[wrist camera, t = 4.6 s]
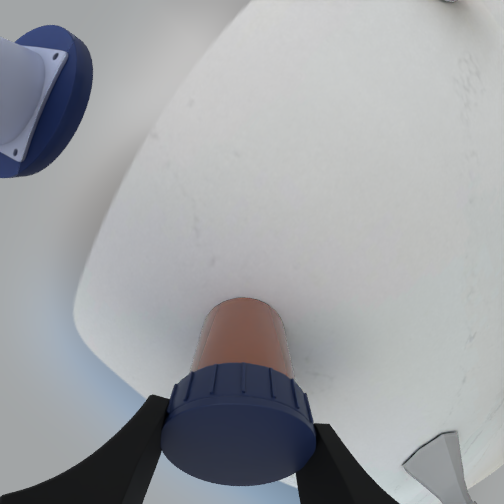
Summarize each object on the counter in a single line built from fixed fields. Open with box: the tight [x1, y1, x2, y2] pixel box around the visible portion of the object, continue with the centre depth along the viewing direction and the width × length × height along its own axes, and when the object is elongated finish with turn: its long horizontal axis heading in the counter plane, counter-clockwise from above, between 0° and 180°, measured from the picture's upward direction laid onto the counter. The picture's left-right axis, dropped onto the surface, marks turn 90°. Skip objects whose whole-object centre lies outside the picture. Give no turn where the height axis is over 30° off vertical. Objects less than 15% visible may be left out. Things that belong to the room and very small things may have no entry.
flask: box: [403, 432, 477, 504], centre depth 16 cm, size 7×7×10 cm
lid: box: [160, 362, 316, 486], centre depth 9 cm, size 5×5×2 cm
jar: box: [189, 298, 296, 383], centre depth 12 cm, size 5×5×8 cm
